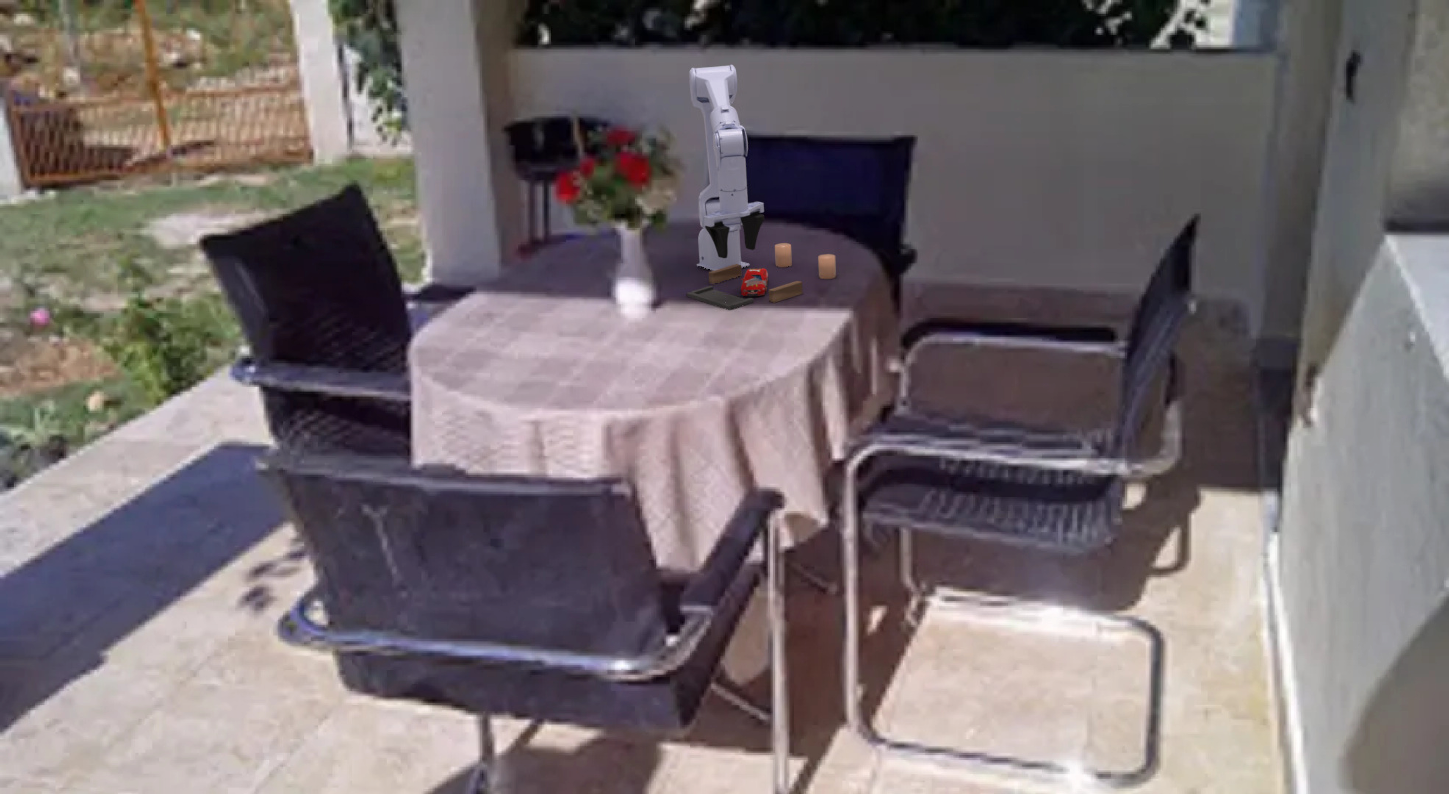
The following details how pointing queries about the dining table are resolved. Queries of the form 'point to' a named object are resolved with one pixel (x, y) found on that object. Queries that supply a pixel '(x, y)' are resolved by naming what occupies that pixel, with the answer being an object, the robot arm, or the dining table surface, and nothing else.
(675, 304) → the dining table surface
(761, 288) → the race car
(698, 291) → the tray
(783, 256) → the peach rounded stick
